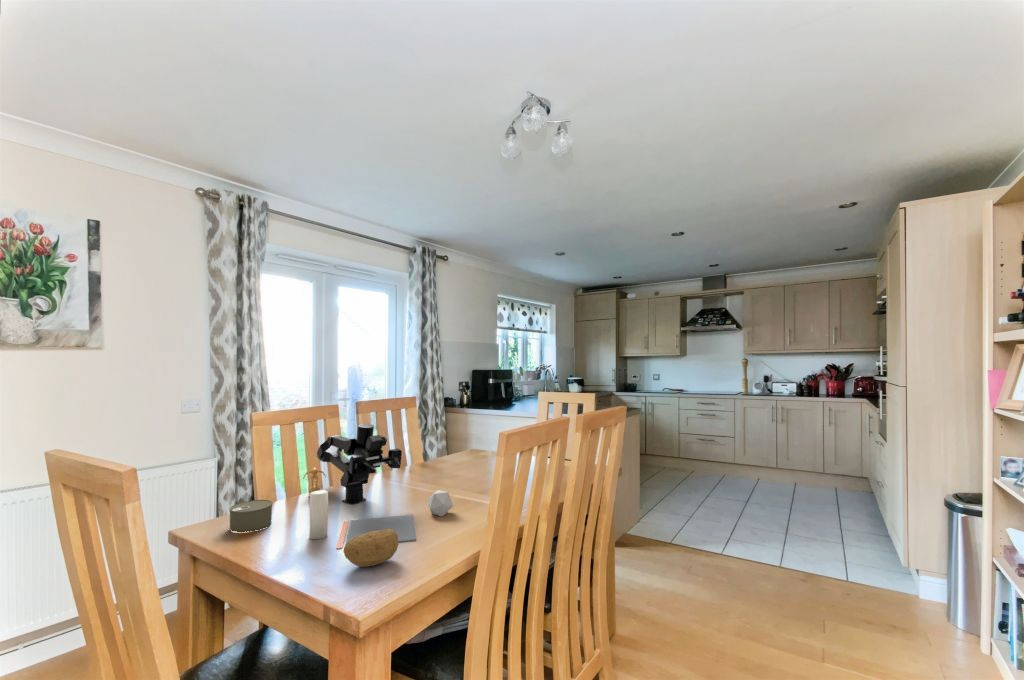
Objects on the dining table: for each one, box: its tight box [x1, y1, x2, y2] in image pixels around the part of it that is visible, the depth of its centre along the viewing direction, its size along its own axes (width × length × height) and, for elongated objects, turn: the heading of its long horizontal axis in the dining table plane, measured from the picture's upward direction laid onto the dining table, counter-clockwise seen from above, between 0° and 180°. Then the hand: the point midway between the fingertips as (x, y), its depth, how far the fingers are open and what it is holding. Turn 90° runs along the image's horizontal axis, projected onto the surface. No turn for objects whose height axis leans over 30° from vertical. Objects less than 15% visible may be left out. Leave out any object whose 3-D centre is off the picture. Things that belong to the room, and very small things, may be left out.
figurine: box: [302, 465, 327, 494], centre depth 175 cm, size 8×6×12 cm
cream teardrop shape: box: [309, 489, 329, 540], centre depth 136 cm, size 5×5×13 cm
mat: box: [344, 514, 418, 546], centre depth 140 cm, size 20×22×1 cm
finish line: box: [335, 520, 350, 550], centre depth 137 cm, size 22×2×1 cm, turn 15°
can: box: [229, 499, 273, 532], centre depth 144 cm, size 12×12×7 cm
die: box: [426, 489, 454, 518], centre depth 155 cm, size 8×9×10 cm
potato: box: [342, 529, 399, 568], centre depth 117 cm, size 10×14×8 cm
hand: (387, 469), depth 152 cm, fingers open, 9 cm apart
